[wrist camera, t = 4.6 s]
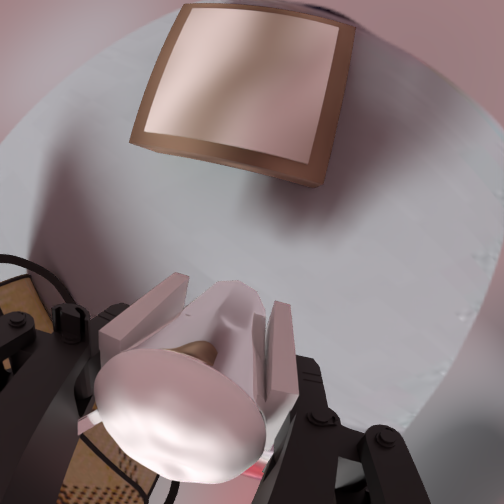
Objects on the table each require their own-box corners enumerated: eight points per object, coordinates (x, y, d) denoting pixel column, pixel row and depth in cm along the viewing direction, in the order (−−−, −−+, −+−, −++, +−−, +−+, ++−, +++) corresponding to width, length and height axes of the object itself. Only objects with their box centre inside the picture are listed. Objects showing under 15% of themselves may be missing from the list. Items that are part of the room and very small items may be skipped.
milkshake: (167, 269, 13) (7, 371, 4) (275, 262, 13) (240, 432, 3) (182, 348, 14) (85, 488, 4) (281, 348, 13) (264, 534, 4)
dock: (157, 152, 18) (126, 141, 13) (199, 31, 15) (182, 1, 11) (313, 188, 17) (323, 184, 13) (343, 55, 15) (356, 24, 11)
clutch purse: (204, 463, 23) (169, 567, 9) (161, 466, 24) (120, 552, 10) (43, 229, 20) (-88, 260, 5) (16, 261, 21) (-87, 298, 7)
